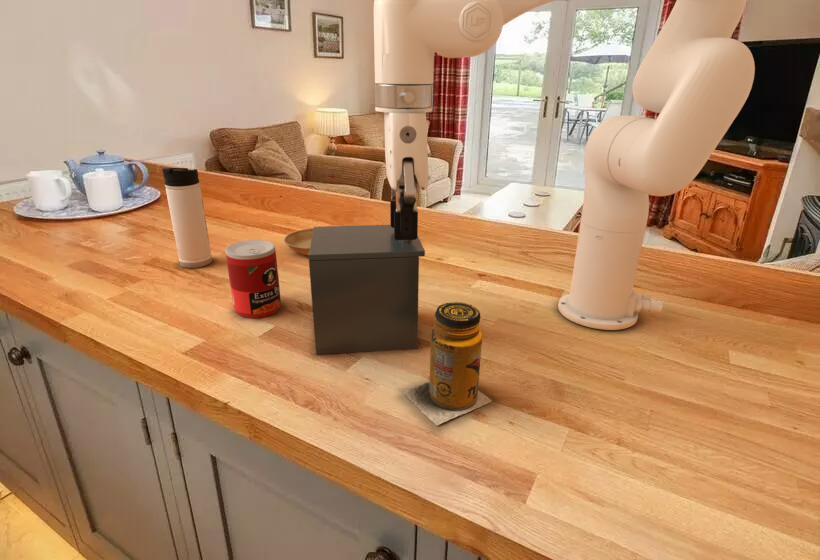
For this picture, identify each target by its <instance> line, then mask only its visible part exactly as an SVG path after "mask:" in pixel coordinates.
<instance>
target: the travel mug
mask: <svg viewBox="0 0 820 560" xmlns="http://www.w3.org/2000/svg"><path fill="white" fill-rule="evenodd" d="M161 170H162V175H163V176H162V177H163V180H164V188H165V193H166V198H167V204H168V209H169V216H170V219H171V223H172V224H171V225H172V229H173V235H174V241H175V246H176V250H177V256H178V263H179V265H180V266H181V267H182V268H187V269H198V268H202V267H205V266H208V265H210V264H211V263H212V262H213V257H212V249H211V244H210V237H209V232H208V231H209V230H208V225H207V219H206V214H205V207H204V200H203V195H202V188H201V182H200V179H199V172H198V169H197V168H193V169H191V168H187V167H164V168H161Z"/></svg>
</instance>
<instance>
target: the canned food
mask: <svg viewBox="0 0 820 560" xmlns="http://www.w3.org/2000/svg"><path fill="white" fill-rule="evenodd" d="M225 257H226V265H227V273H228V278H229V286H230V290H231V291H230V292H231V298H232V304H233V309H234V311H235V313H236V314H237V315H238V316H241V317H242V318H248V319H260V318H265V317H269V316H271V315H274V314H276V313H277V312H278V311H279V310H280V308H281V304H282V303H281V302H282V300H281V289H280V281H279V280H280V279H279V269H278V260H277V251H276V245H275V244H274V243H273V242H271V241H268V240H263V239H247V240H240V241H236V242H234V243H230V244H229V245H228V246H226V248H225Z"/></svg>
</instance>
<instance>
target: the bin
mask: <svg viewBox="0 0 820 560" xmlns="http://www.w3.org/2000/svg"><path fill="white" fill-rule="evenodd" d="M308 267H309V269H308V270H309V280H310V281H309V282H310V294H311V307H312V319H313V333H314V346H315V355H331V354H348V353H349V354H351V353H364V352H365V353H366V352H367V353H368V352H382V351H383V352H384V351H399V350H415V349H418V342H419V341H418V339H419V338H418V334H419V333H418V332H419V286H420V285H419V283H420V281H419V279H420V277H419V275H420V257H392V258H364V259H336V260H309V259H308Z"/></svg>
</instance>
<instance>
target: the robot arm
mask: <svg viewBox="0 0 820 560" xmlns="http://www.w3.org/2000/svg"><path fill="white" fill-rule="evenodd" d="M554 1H555V0H374V1H373V50H374V51H373V52H374V53H373V54H374V55H373V56H374V63H373V64H374V105H375V107H374V110H375V111H374V112H379V113H384V114H383V115H384V116H383V117H384V120H383V122H384V153H385V154H384V157H385V159H384V160H385V170H386V178H387V181H388V183H389V186H390V188H391V190H390V191H391V194H390V195H391V198H390V199H391V200H389V206H390V207H389V208H390V209H389V210H390V211H389V212H390V220H389V221H390V224H389V225H391V227H392V228H394V238H395V240H416V239H417V237H419V235H418V234H419V233H418V229H419V212H418V190H417V189H418V188H420V189H421V190H422V191H426V190H427V189H428V187H429V155H428V154H429V152H428V151H429V147H428V125H427V124H428V122H427V113H433V108H434V107H433V103H434V73H435V72H434V70H435V69H434V65H435V53H436V54H438V56H440V57H443V58H448V59H459V58H460V59H464V58H473V57H477V56H480V55H482V54H484V53H486V52H488V51H489V50H490V49H492V47H493V46H494V45H495V44H496V43H497V42H498V40H499V38H500V36H501V34H502V30H503V27H504V25H507V24H508V23H510V22H512V21H513V20H514V19H517V18H518V17H520V16H522V15H523V14H525V13H528V12H530V11H532V10H534V9H536V8H540V7H542V6H544V5H547V4H549V3H551V2H554ZM746 4H747V0H675V3H674V5H673V8H672V9H671V11H670V13H669V15H668V17H667V19H666V21H665V22H664V24H663V26H662V27H661V29H660V31H659V33H658V35H657V36H656V37H655V39H654V42H653V43H652V45H651V47H650V48H649V50H648V52H647V53H646V55H645V56H644V58H643V60H642V61H641V64H640V65H639V67H638V69H637V71H636V73H635V76H634V78H633V81H632V88H631V93H632V97H633V99H634V101H635V103H636V104H637V105H638V106H639V107H641V108H642V109H644V110H646V111H649V112H652V113H658V116H657V117H656V119H655V118H653V117H652V118H651V117H647V116H646V117H645V116H638V115H629V114H628V115H627V114H621V115H615V116H612V117H609V118H607V119H606V120H604V121H602V122H601V123H599V124H598V125H597V126H596V127H595V128H593V131H591V133H590V134H589V135H590V136H589V137H588V139H587V141H586V144H585V149H584V158H583V159H584V161H583V162H584V168H583V169H584V193H583V202H582V209H581V210H582V211H581V217H580V222H579V223H580V224H579V230H578V236H577V241H576V249H575V254H574V255H575V257H574V263H573V270H572V275H571V282H570V289H569V293H567V294H564V295H563V296H561V297H560V298H559V300H558V304H557V309H558V311H559V313H560V314H561V315H562V316H563V317H565V318H566V319H567V320H568V321H570V322H572V323H575V324H577V325H580V326H582V327H586V328H590V329H596V330H603V331H619V330H624V329H628V328H631V327H633V326H634V325H635V324H636V323H637V322H638V318H639V313H641V311H645V312H651V313H658V314H659V313H662V312H663V309H664V307H663V306H664V302H663V300H657V299H652V297H651V295H650V294H638V293H637V294H636V292H635V291H634V286H635V283H636V282H635V281H636V276H637V272H638V266H639V263H640V258H641V252H642V247H643V243H644V238H645V234H646V229H647V225H648V219H649V213H650V211H649V210H650V198H649V197H650V196H654V197H668V196H671V195H674V194H677V193H678V192H680V191H682V190H683V189H685V188H686V187H687V186H688V185H690V184H691V182H692V181H694V179H696V177H697V176H698V174H699V173H700V172H701V171H702V169H703V167H705V165H706V163H708V160H709V159H710V158H711V156H712V154H713V153H714V151H715V150H716V148H717V147H718V145H719V144H720V142H722V139H723V138H724V136H725V135H726V133H727V132H728V130H729V129H730V127H731V125H732V124H733V122H734V120H735V119H736V118H737V117H738V115H739V113H740V112H741V110H742V109H743V107H744V105H745V103H746V101H747V99H748V98H749V95H750V92H751V90H752V88H753V84H754V80H755V73H756V72H755V71H756V66H755V59H754V57H753V54H752V52H751V49H750V48H749V47H748V46H747V45H746V44H744V43H743V42H742V41H740V40H738V39H736V38H732V35H733V33H734V32H735V30H736V29H737V26H738V24H739V22H740V21H741V19H742V16H743V14H744V11H745V8H746ZM417 187H418V188H417Z"/></svg>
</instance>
